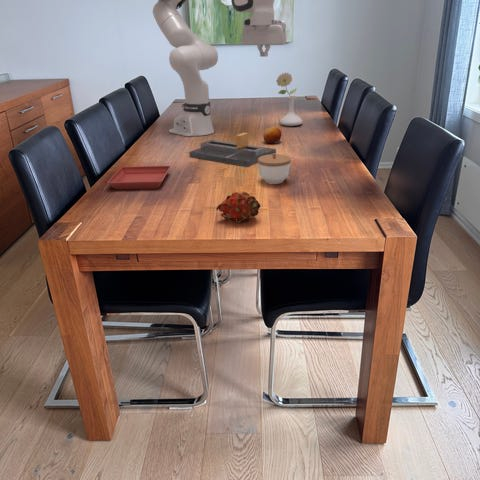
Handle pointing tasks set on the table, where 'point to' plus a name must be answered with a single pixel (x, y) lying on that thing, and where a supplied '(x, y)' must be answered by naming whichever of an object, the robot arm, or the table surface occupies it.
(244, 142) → the block
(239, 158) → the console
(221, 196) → the table surface
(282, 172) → the lidded jar
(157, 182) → the plant saucer
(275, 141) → the fruit
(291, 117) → the flower in vase
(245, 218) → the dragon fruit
